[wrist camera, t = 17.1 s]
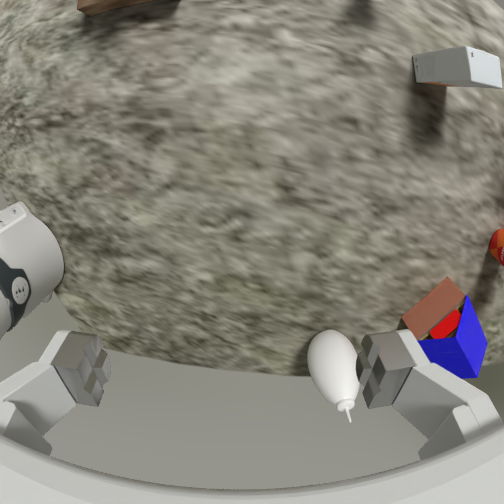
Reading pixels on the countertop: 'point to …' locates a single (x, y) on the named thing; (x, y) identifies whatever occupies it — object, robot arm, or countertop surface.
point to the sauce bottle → (334, 369)
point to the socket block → (104, 5)
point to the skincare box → (458, 68)
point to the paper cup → (497, 245)
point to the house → (448, 330)
